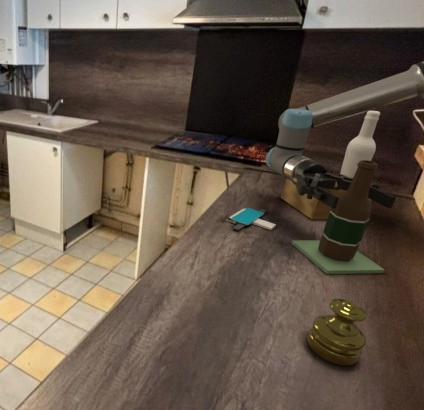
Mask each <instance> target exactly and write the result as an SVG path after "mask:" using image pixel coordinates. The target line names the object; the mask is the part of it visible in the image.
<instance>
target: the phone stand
mask: <svg viewBox="0 0 424 410" xmlns="http://www.w3.org/2000/svg"><path fill="white" fill-rule="evenodd" d="M266 213H267V210H266V209H263V208H260V209H259V210H256V209H253V208H250V207H246V206H243V207H242V208H240V209H238V210H237V211H235V212H233V213H231V214H230V215H228V217H227V218H225V220H224V221H225V222H228V223H231V224H233V226H232V228H233V229H232V230H233V231H235V232H240V231H242V230H243V229H245V228H246V227H248V226H251V225H255V226H257V227H260V228H264V229H266V230H269V231H272V230H273V229H274V228H275V227H276V226H277V224H276V223H273V222H270V221H267V220H264V219H261V217H263V216H264V215H265V214H266Z"/></svg>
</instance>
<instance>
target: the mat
mask: <svg viewBox="0 0 424 410" xmlns="http://www.w3.org/2000/svg"><path fill="white" fill-rule="evenodd" d="M320 240H321V239H319V240H318V239H316V240H314V239H313V240H312V239H311V240H310V239H309V240H307V239H303V240H301V239H300V240H297V239H296V240H291V245H292V246H293V247H295V249H297V250H298V251H299V252H300V253H301V254H302V255H304V256H305V257H306V258H307V259H308V260H310V261H311V262H312V263H313V264H314V265H315V266H316V267H318V268H319V269H320V270H321V271H323V273H325V274H326V275H339V274H341V275H342V274H343V275H344V274H345V275H347V274H352V275H355V274H384V272H385V269H384V268H383V267H381V266H380V265H379V264H377V263H375V262H374V261H372V260H371V259H370V258H368V257H367V256H365V255H364V254H362V253H361V252H360V251H358V250H357V252H356V254H355V256H354V257H353V258H352V259H351V260H350V261H348V262H346V261H336V260H333V259H331V258H328V257H326V256H324V255H323V254H322V253H321V252H320V251H319V250H318V247H319V243H320Z"/></svg>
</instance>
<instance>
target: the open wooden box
mask: <svg viewBox="0 0 424 410" xmlns="http://www.w3.org/2000/svg"><path fill="white" fill-rule="evenodd" d="M292 182H293V181H291V180H290V179H288V178H286V179H285V181H284V185H283V189H282V193H281V197H280V198H281V200H283V201H284V202H286V203H287V204H289V205H290V206H291V207H293V208H294V209H296V210H297V211H299V212H300V213H302V214H303V215H304V216H306V217H307V218H309V219H310V220H327V219H328V216H329V213H330V210H331V207H329V206H328V205H326V204H324V203H323V202H321V201H319V200H318V199H316V198H314V197H312V199H307V198H306V197H307V194H304V195H299V194H298V191H297V188H296V185H294V184H293V183H292ZM337 185H338V184H337V183H335V186H334V187H337ZM316 189H317V188H316ZM323 189H325V188H323ZM325 190H327V191H328V192H330V193H332V194H334V195H336V196H338V197H339V198H340V197H341V196H342V195H344V194H345V193H346V192H347V191H345V190H341V189H340V190H338V191H337V190H333V189H329V188H327V189H325ZM369 201H370V203H371V202H372V200H371V199H369Z"/></svg>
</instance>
